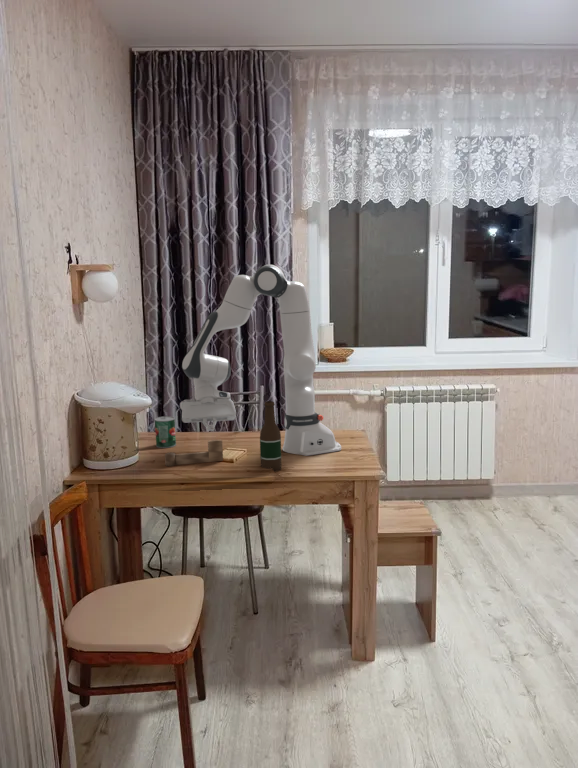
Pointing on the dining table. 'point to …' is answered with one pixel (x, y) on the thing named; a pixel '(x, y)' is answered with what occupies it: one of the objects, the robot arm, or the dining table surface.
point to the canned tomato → (165, 432)
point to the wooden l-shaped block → (197, 455)
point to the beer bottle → (270, 440)
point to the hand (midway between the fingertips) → (210, 430)
